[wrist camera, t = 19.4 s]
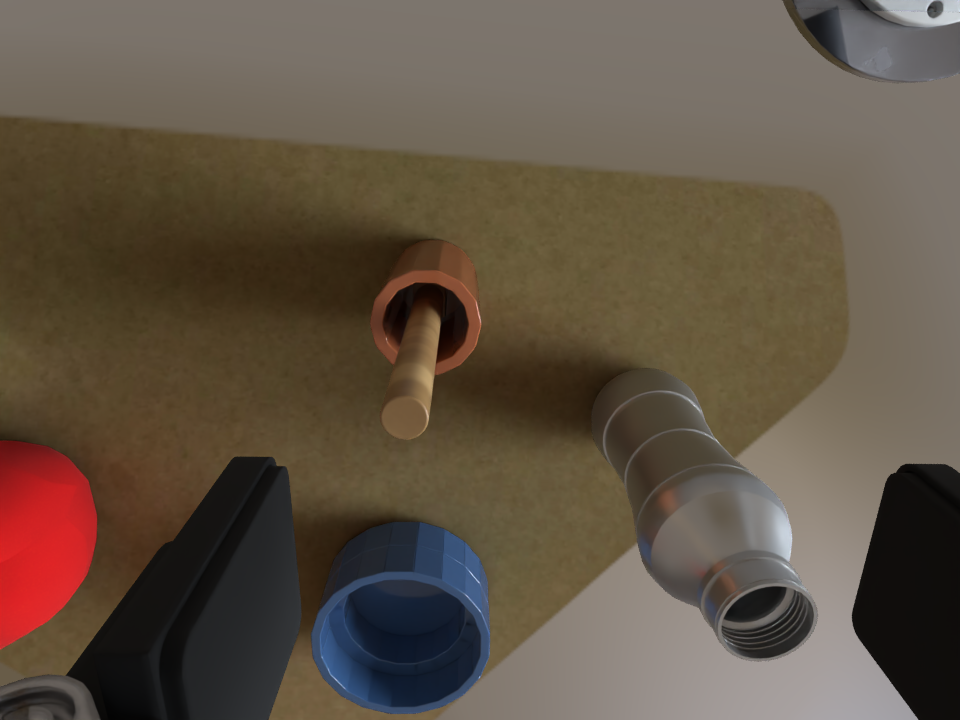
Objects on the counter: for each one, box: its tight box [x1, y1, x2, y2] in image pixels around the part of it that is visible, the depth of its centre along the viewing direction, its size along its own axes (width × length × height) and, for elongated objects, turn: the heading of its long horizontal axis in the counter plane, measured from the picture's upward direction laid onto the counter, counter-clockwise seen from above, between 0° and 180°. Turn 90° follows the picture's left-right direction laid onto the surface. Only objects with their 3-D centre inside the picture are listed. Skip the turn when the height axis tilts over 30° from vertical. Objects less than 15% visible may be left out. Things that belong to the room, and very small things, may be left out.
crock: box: [370, 240, 481, 375], centre depth 36 cm, size 5×5×9 cm
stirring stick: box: [380, 283, 447, 439], centre depth 30 cm, size 2×2×19 cm
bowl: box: [311, 522, 490, 714], centre depth 44 cm, size 11×11×6 cm
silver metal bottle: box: [591, 368, 818, 661], centre depth 33 cm, size 6×7×20 cm
